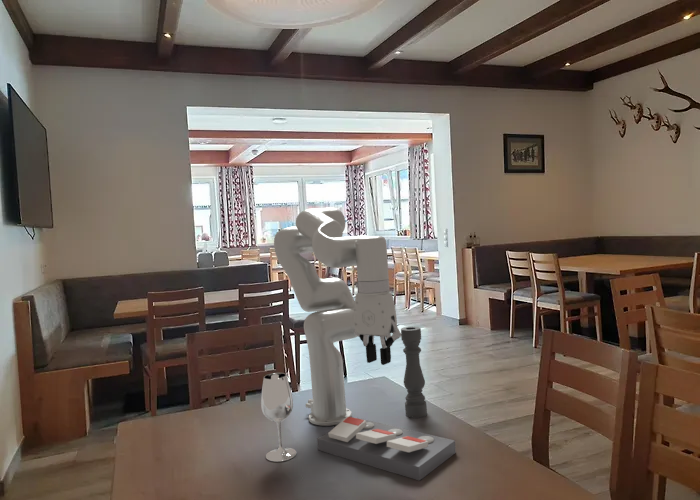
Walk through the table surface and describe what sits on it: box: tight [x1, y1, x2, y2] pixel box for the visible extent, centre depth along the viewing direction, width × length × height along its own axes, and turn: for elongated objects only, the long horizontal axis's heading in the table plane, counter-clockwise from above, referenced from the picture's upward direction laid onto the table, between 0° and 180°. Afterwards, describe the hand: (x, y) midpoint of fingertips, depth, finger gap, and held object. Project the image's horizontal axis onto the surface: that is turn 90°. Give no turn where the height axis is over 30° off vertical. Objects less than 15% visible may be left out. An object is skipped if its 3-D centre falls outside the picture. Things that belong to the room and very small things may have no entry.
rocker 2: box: [356, 429, 396, 444], centre depth 127 cm, size 6×8×1 cm
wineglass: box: [260, 372, 297, 463], centre depth 131 cm, size 8×8×20 cm
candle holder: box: [400, 326, 428, 419], centre depth 152 cm, size 6×6×25 cm
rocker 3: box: [387, 436, 428, 452], centre depth 121 cm, size 6×8×1 cm
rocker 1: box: [327, 416, 367, 442], centre depth 132 cm, size 6×8×1 cm
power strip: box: [316, 417, 457, 481], centre depth 131 cm, size 35×16×3 cm, turn 50°
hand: (378, 361), depth 128 cm, fingers open, 3 cm apart
